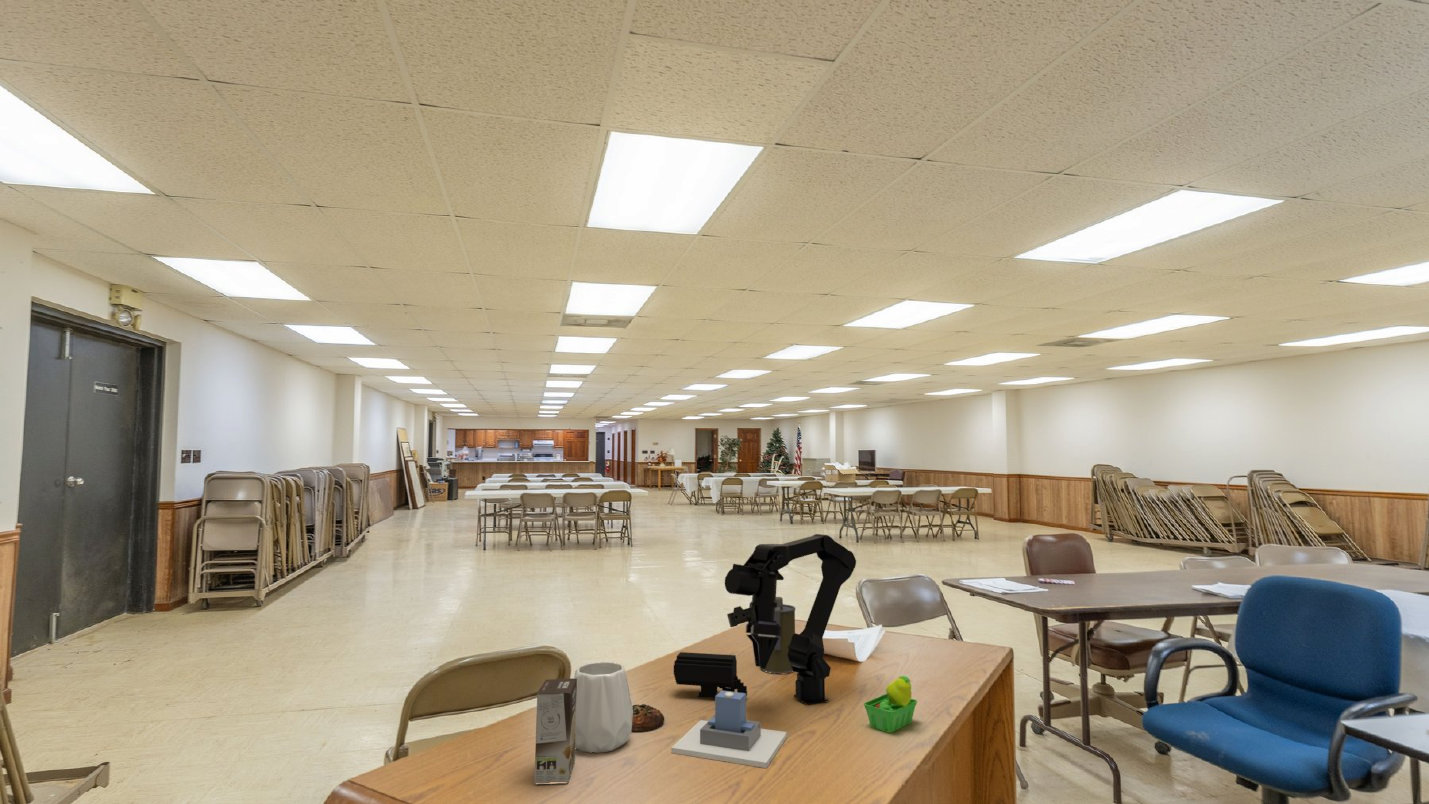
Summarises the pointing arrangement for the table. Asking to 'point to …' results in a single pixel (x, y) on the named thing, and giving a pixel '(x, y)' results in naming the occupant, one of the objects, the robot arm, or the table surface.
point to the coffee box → (555, 730)
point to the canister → (782, 638)
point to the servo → (730, 712)
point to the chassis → (731, 744)
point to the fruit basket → (892, 707)
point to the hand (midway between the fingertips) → (760, 667)
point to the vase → (602, 707)
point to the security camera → (708, 673)
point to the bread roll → (646, 718)
